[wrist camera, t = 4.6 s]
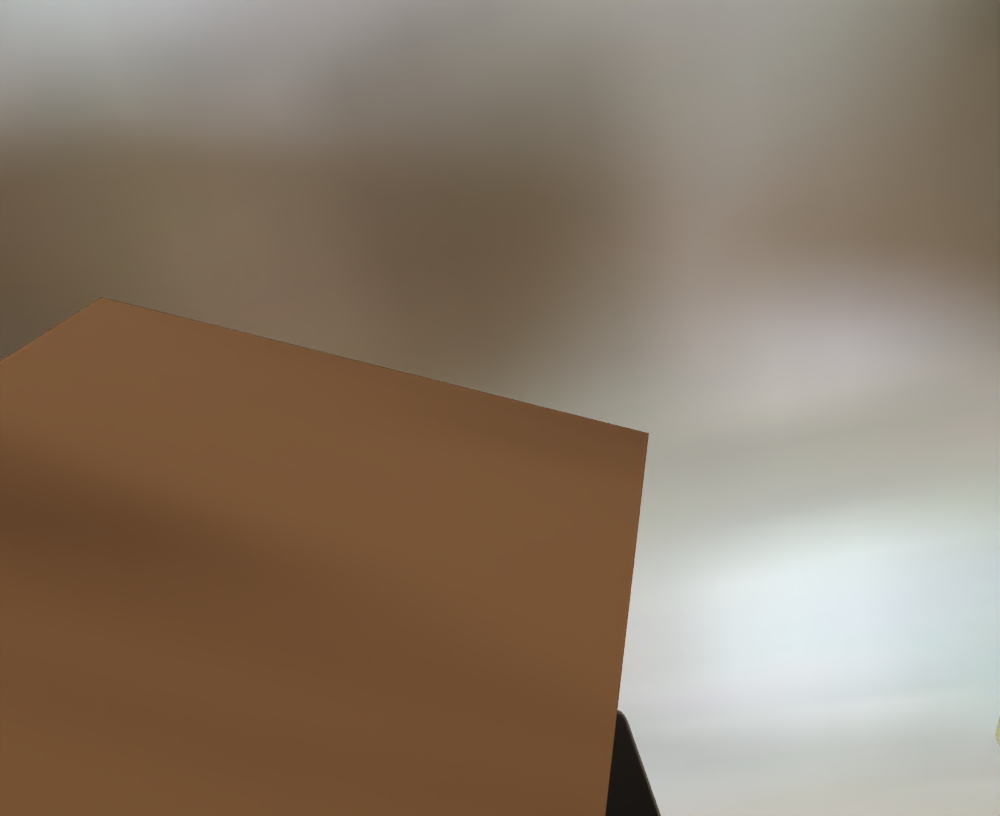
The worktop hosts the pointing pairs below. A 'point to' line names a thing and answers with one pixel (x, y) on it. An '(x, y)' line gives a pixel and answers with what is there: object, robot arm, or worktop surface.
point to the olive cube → (998, 732)
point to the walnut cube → (300, 583)
